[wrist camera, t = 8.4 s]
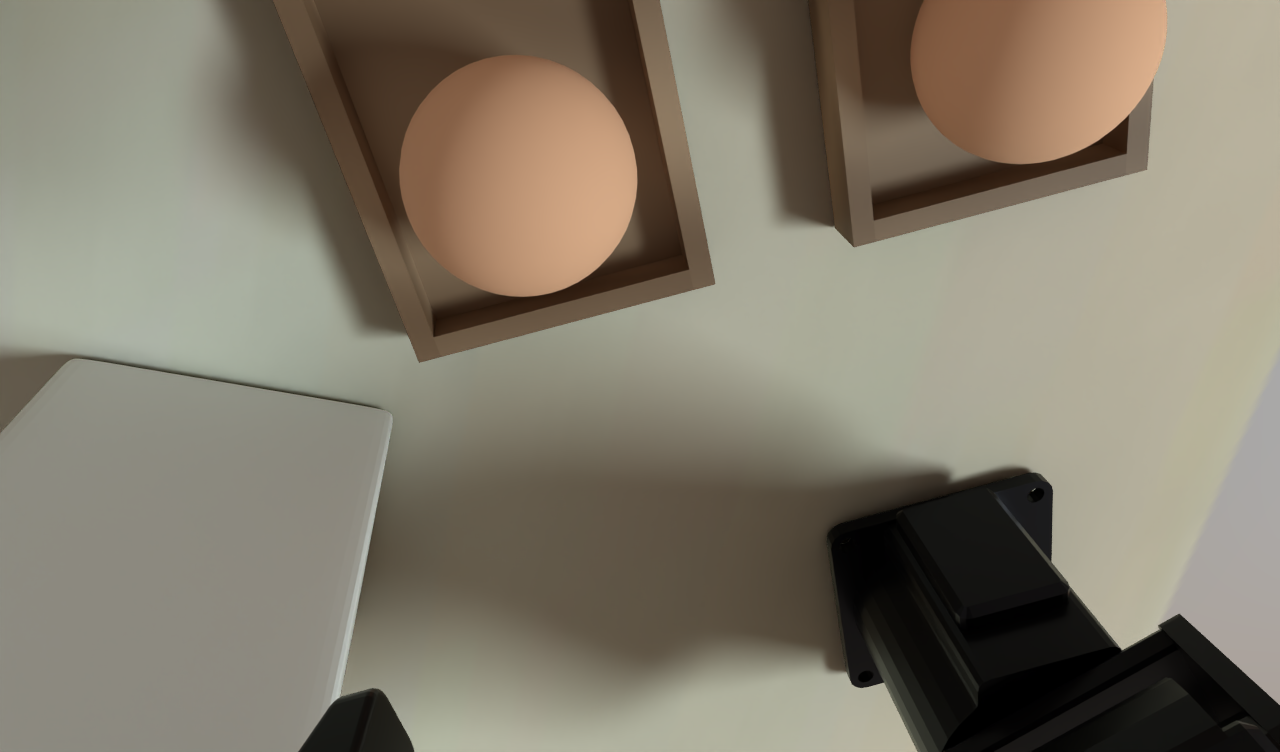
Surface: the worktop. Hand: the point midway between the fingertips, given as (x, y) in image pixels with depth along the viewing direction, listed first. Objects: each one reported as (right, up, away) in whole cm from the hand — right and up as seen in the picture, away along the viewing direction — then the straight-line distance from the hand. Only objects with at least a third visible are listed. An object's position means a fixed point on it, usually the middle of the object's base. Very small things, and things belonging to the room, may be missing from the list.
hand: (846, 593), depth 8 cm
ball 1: (-4, +6, +8) cm, 11 cm away
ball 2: (+5, +8, +8) cm, 13 cm away
